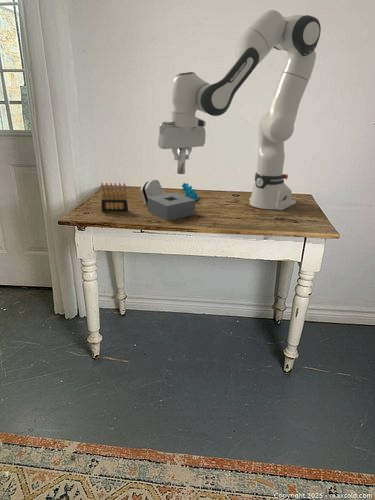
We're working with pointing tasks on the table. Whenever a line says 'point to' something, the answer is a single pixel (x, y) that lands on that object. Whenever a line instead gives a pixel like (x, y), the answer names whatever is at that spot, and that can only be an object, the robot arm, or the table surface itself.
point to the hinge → (151, 190)
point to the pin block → (171, 206)
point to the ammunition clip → (114, 199)
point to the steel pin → (181, 161)
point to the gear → (189, 191)
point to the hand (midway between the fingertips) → (181, 159)
